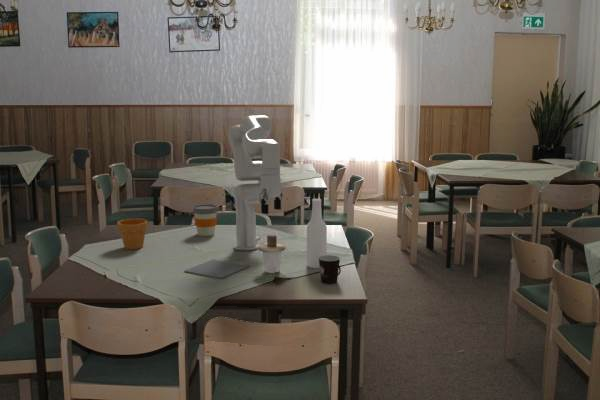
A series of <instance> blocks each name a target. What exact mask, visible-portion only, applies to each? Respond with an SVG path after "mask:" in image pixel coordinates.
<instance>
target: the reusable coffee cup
mask: <svg viewBox="0 0 600 400" xmlns="http://www.w3.org/2000/svg"><path fill="white" fill-rule="evenodd" d="M217 213H218V207H217V205H214V204H198V205H195V206H193V214H194V215H193V216H194V217H193V219H194V225H195V228H196V233H197V234H196V235H197V236H200V237H212V236H214V235H215V233H216V232H215V231H216V225H217V218H218V217H217Z"/></svg>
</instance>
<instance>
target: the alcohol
mask: <svg viewBox="0 0 600 400" xmlns="http://www.w3.org/2000/svg"><path fill="white" fill-rule="evenodd" d="M311 201H312V202H311V203H312V205H311V217H310V220H309V222H308V223H307V225H306V266H307V267H308V268H310V269H319V270H320V265H319V257H320V256H324V255H328V253H327V250H328V249H327V248H328V247H327V246H328V244H327V241H328V240H327V239H328V237H327V236H328V235H327V234H328V230H327V229H328V228H327V227H328V226H327V223H326V222H325V221H324V219H323V213H322V212H323V211H322V199H321V198H312V199H311Z"/></svg>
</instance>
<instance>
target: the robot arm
mask: <svg viewBox="0 0 600 400" xmlns="http://www.w3.org/2000/svg"><path fill="white" fill-rule="evenodd" d="M272 129H273V124H272V121H271V119H270V117H269V116H267V115H247V116H244V117H242V119H240V122H239V124H236V125H233V126H230V127H229V128H228V132H227V136H228V142H229V145H230V147H231V150H232V154H233V164H234V165H233V166H234V176H235V178H236V180H237V181H240V182H252V181H253V182H255V181H257V182H258V183H241V184H238V185H236V186H235V187H234V189H233V198H234V203H235V223H236V225H235V226H236V227H235V228H236V243H235V244H234V245H233V249H235V250H237V251H242V252H243V251H246V252H248V251H255V250H258V245H260V244H259V243H258V241H260V240H261V239H262V238H261V236H257V220H256V219H257V217H256V216H257V215H256V210H255V209H254V207H253V206H251V205H252V204H260V207H261V209H260V210H261V211H260V213H261V214H263V215H264V214H265V215H269V204H268V203H269V201H270V200H273V199H274V200H273V209H274V210H280V211H281V210H282V197H283V192H284V188H282V182H281V145H280V143H279V142H277V140H275V139H271V138H270V139H269V138H268V136H269V135H270V133H271V132H272ZM267 138H268V139H267ZM255 158H256V159H257V158H261V160H252V159H255Z"/></svg>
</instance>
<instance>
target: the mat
mask: <svg viewBox="0 0 600 400" xmlns="http://www.w3.org/2000/svg"><path fill="white" fill-rule="evenodd" d="M247 268H248V269H249V268H250V265H247V264H243V263H237V262H236V263H235V262H232V261H225V260H219V259H211V260H208V261H206V262H203V263H201V264H197V265H195V266H192V267H190V268H188V269H185V270H184V271H183V272H184V273H188V274H193V275H197V276H199V275H200V276H203V277H204V276H205V277H208V278H213V279H219V280H223V279H225V278H227V277H230V276H232V275H235V274H236V273H239V272H241V271H244V270H246V269H247ZM243 269H244V270H243Z"/></svg>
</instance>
